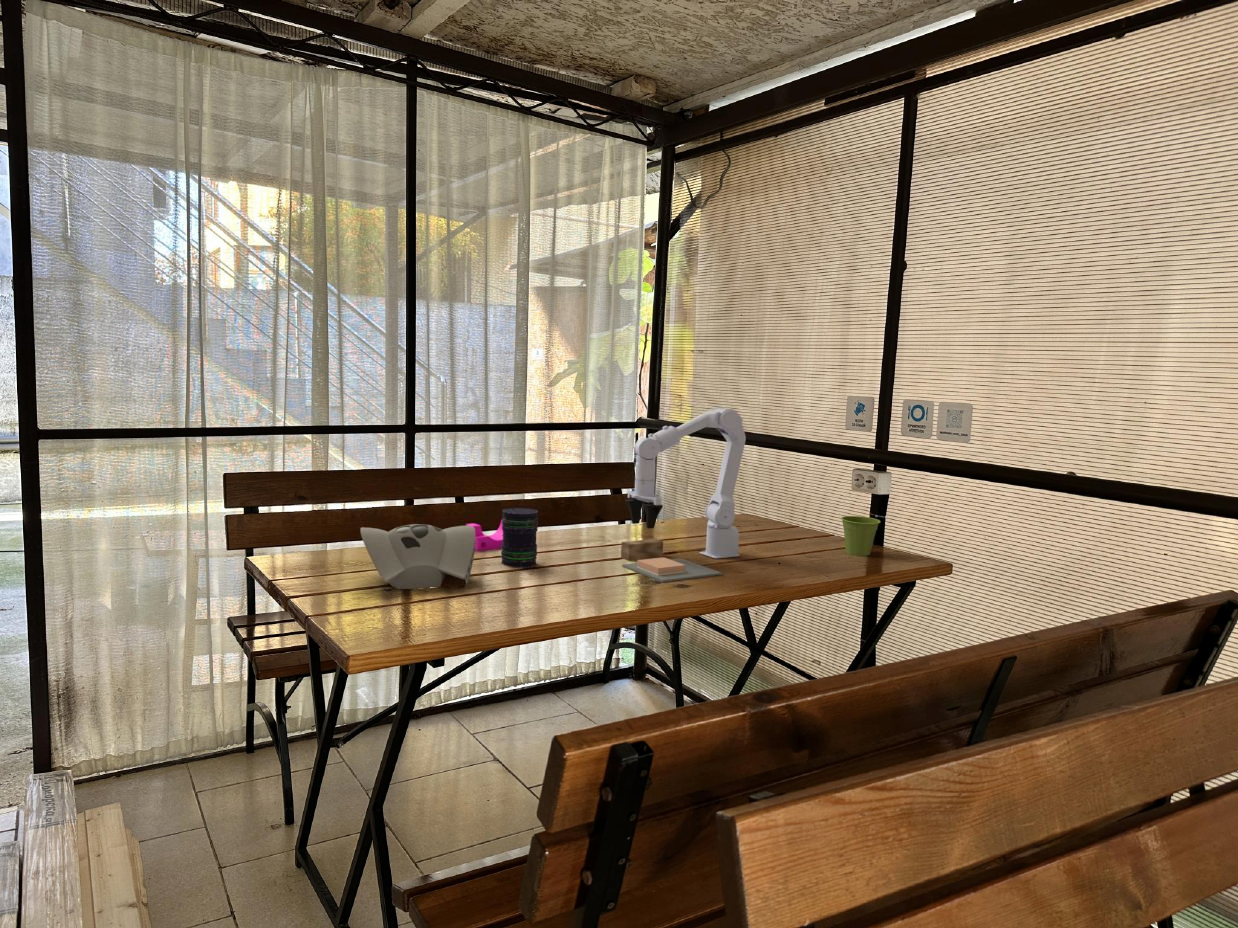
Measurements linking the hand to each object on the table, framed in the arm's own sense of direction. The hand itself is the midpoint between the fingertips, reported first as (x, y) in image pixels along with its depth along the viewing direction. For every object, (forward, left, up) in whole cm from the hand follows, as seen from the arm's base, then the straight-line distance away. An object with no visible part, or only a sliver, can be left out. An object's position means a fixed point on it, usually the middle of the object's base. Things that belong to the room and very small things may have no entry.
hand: (642, 525), depth 250 cm
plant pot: (-65, +23, -10) cm, 70 cm away
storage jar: (+37, -7, -10) cm, 38 cm away
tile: (+1, +17, -8) cm, 19 cm away
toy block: (+35, -29, -10) cm, 46 cm away
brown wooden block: (0, 0, -10) cm, 10 cm away
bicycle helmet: (+68, -1, -11) cm, 69 cm away
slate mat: (+2, +17, -9) cm, 19 cm away
